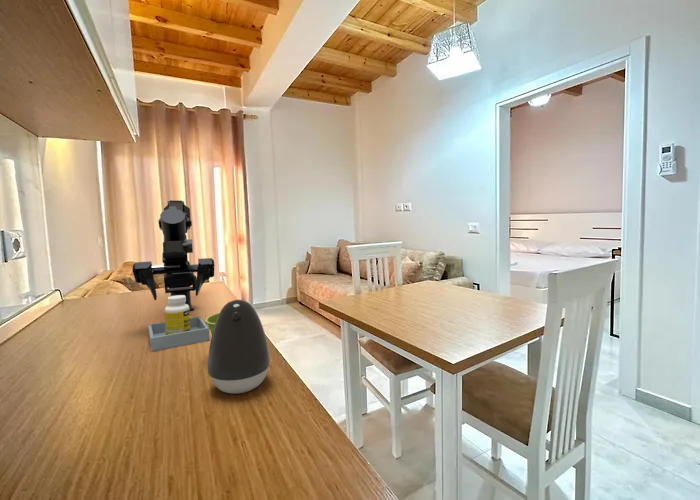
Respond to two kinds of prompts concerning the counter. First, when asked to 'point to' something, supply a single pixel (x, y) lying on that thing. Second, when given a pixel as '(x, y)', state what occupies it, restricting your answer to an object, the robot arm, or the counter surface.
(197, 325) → the tray
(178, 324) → the supplement bottle
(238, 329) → the dark grey egg-shaped device
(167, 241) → the robot arm
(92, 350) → the counter surface
